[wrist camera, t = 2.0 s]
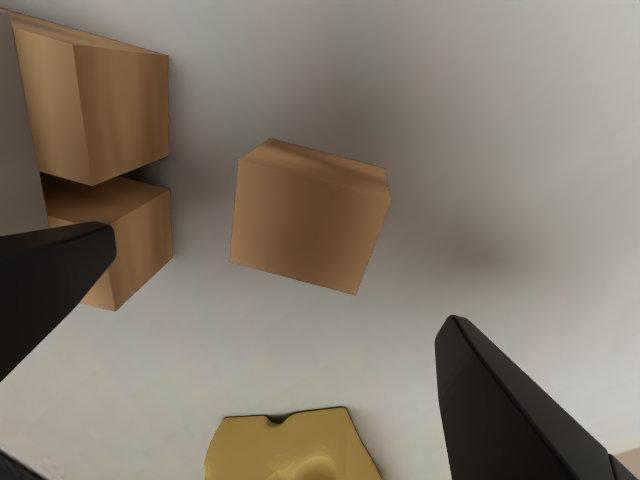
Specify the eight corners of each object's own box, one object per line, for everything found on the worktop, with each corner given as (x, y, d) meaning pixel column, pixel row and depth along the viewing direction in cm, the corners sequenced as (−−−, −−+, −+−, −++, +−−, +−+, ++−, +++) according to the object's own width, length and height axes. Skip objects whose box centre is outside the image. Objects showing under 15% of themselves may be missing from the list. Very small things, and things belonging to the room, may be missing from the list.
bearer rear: (1, 211, 17) (-114, 254, 13) (-25, 139, 15) (-170, 161, 11) (175, 255, 17) (115, 311, 13) (172, 187, 15) (101, 229, 11)
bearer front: (-41, 95, 14) (-209, 101, 10) (-77, -15, 12) (-306, -64, 8) (170, 154, 14) (92, 186, 10) (170, 56, 12) (72, 44, 8)
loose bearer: (259, 219, 15) (229, 261, 11) (271, 138, 13) (238, 159, 9) (357, 245, 15) (355, 295, 11) (384, 167, 13) (391, 200, 9)
